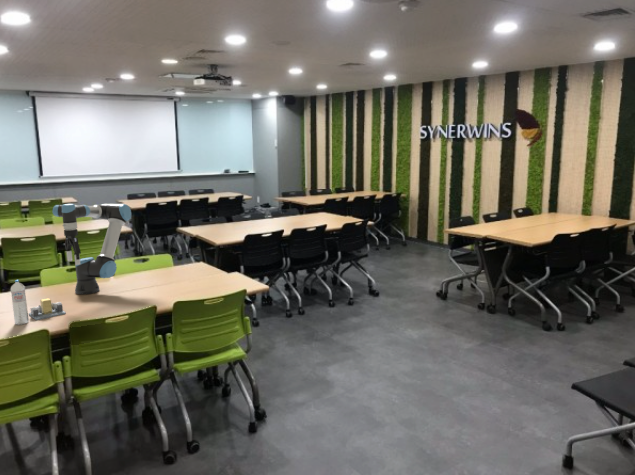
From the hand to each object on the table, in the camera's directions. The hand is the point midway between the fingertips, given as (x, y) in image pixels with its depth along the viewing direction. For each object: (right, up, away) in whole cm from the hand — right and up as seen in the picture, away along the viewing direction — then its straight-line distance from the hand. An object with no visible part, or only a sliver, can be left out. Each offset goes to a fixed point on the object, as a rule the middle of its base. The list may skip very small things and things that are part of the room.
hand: (73, 263), depth 312 cm
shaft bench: (-9, -30, -14) cm, 34 cm away
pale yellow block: (-9, -29, -14) cm, 33 cm away
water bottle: (-16, -33, -28) cm, 46 cm away
